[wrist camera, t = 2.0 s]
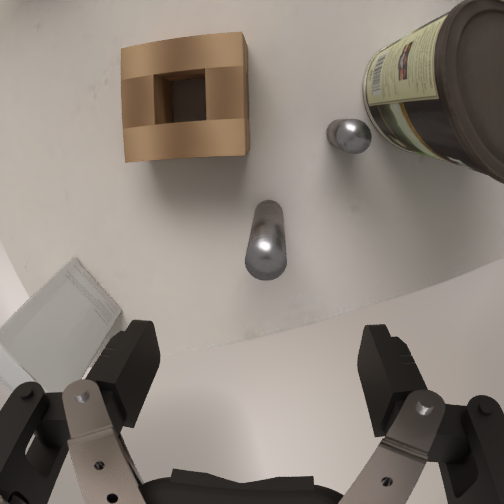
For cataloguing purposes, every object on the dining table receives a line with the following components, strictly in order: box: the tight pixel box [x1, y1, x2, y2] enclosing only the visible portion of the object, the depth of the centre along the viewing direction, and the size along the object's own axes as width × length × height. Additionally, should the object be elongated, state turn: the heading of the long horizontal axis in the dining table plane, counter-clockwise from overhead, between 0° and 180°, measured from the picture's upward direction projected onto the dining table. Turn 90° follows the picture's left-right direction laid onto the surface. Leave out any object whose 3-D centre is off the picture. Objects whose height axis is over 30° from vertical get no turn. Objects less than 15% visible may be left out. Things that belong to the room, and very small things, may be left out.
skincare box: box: [0, 258, 122, 394], centre depth 26 cm, size 8×6×15 cm
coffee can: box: [363, 0, 504, 184], centre depth 16 cm, size 10×10×14 cm
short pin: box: [326, 119, 371, 154], centre depth 23 cm, size 2×2×5 cm
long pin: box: [245, 200, 287, 280], centre depth 23 cm, size 2×2×10 cm
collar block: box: [121, 32, 250, 163], centre depth 22 cm, size 9×9×4 cm
